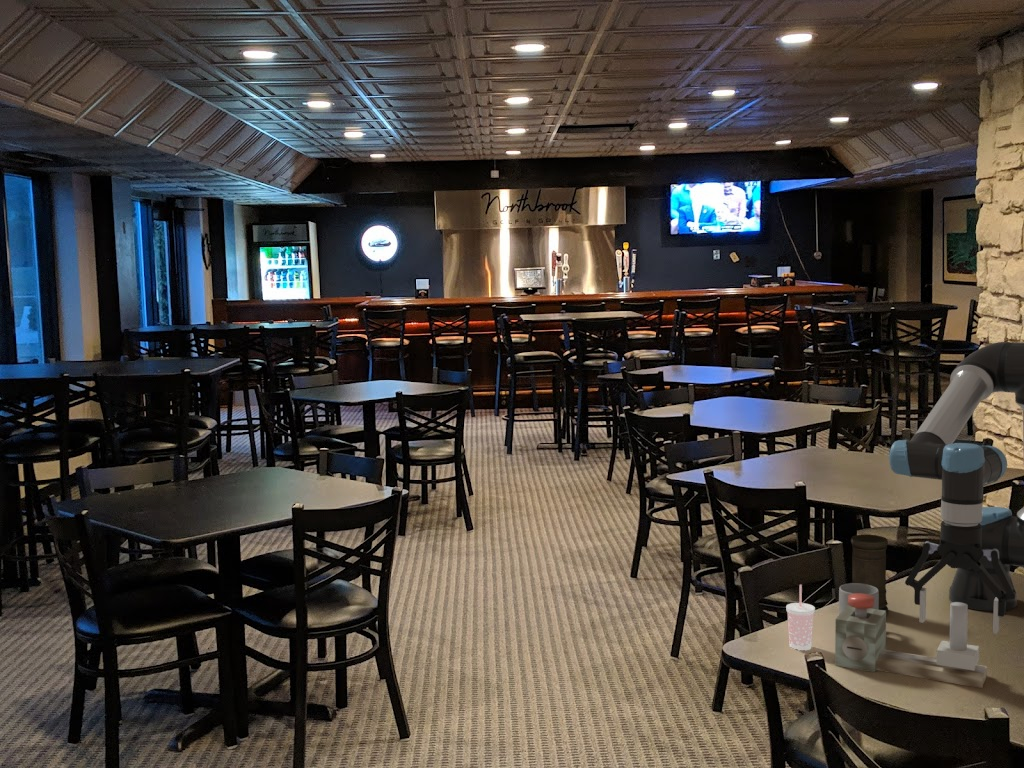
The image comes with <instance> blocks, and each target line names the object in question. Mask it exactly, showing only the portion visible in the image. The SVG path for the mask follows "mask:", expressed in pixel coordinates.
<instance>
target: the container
mask: <svg viewBox="0 0 1024 768" xmlns="http://www.w3.org/2000/svg"><path fill="white" fill-rule="evenodd" d="M850 543H851V547H852V548H851V549H852V554H851V557H852V560H851V564H852V565H851V573H852V574H851V580H852V581H851V583H859V584H867V585H871V586H874V587H876V588H877V589H878V591H879V608H878V610H885V611H886V615H888V612H889V608H888V604H889V603H888V600H887V588H886V587H887V585H886V584H887V583H886V581H887V574H886V573H887V554H886V553H887V552H886V551H887V549H888V544H889V540H888V539H887V538H886V537H884V536H881V535H876V534H856V535H853V536H851V538H850Z"/></svg>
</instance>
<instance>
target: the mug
mask: <svg viewBox="0 0 1024 768" xmlns="http://www.w3.org/2000/svg"><path fill="white" fill-rule="evenodd" d="M855 593H861V594H868V595H871V596H873V597H874V607H873V608H871V609H878V608H879V591H878V589H877V588H876V587H874V586H871V585H867V584H859V583H852V582H850V583H845V584H842V585H840V586H839V590H838V615H839V614H840V613H841V612H842V611H843V610H844V609H845V607H846V606H847V605H848V596H849V595H850V594H855Z"/></svg>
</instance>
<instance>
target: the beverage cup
mask: <svg viewBox="0 0 1024 768" xmlns="http://www.w3.org/2000/svg"><path fill="white" fill-rule="evenodd" d="M802 586H803V584H799V593H798V595H799V599H798V600H799V602H791V603H787V604H786V606H785V608H786V609H785V610H786V612H787V627H788V641H789V643H788V644H789V648H790V647H792V648H794V649H798V650H797V651H800V650H805V651H809V650H811V649H812V641H813V626H814V615H815V612H816V607H815V606H814V605H812V604H810V603H805V602H802V600H803V599H802V593H803V587H802ZM792 648H791V649H792ZM794 649H793V650H794Z"/></svg>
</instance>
